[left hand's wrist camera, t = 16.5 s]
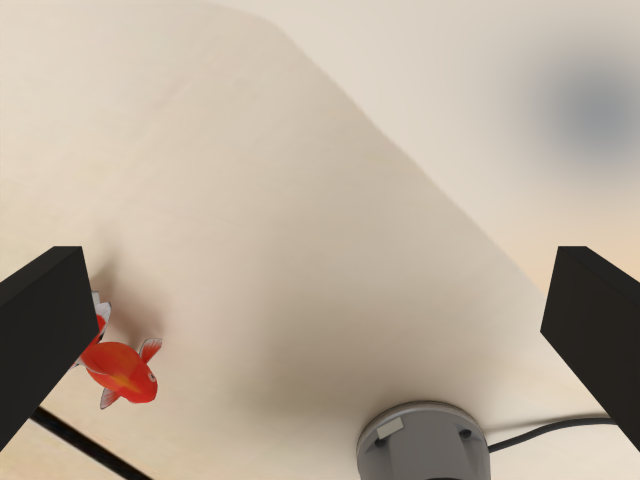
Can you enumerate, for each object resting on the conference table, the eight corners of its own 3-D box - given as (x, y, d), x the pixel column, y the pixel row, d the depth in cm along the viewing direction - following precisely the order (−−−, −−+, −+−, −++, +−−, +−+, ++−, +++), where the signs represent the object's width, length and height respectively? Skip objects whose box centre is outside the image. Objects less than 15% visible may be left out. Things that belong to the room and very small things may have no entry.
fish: (103, 440, 46) (46, 471, 36) (30, 317, 49) (-43, 315, 39) (190, 377, 48) (157, 391, 38) (114, 260, 50) (65, 245, 40)
